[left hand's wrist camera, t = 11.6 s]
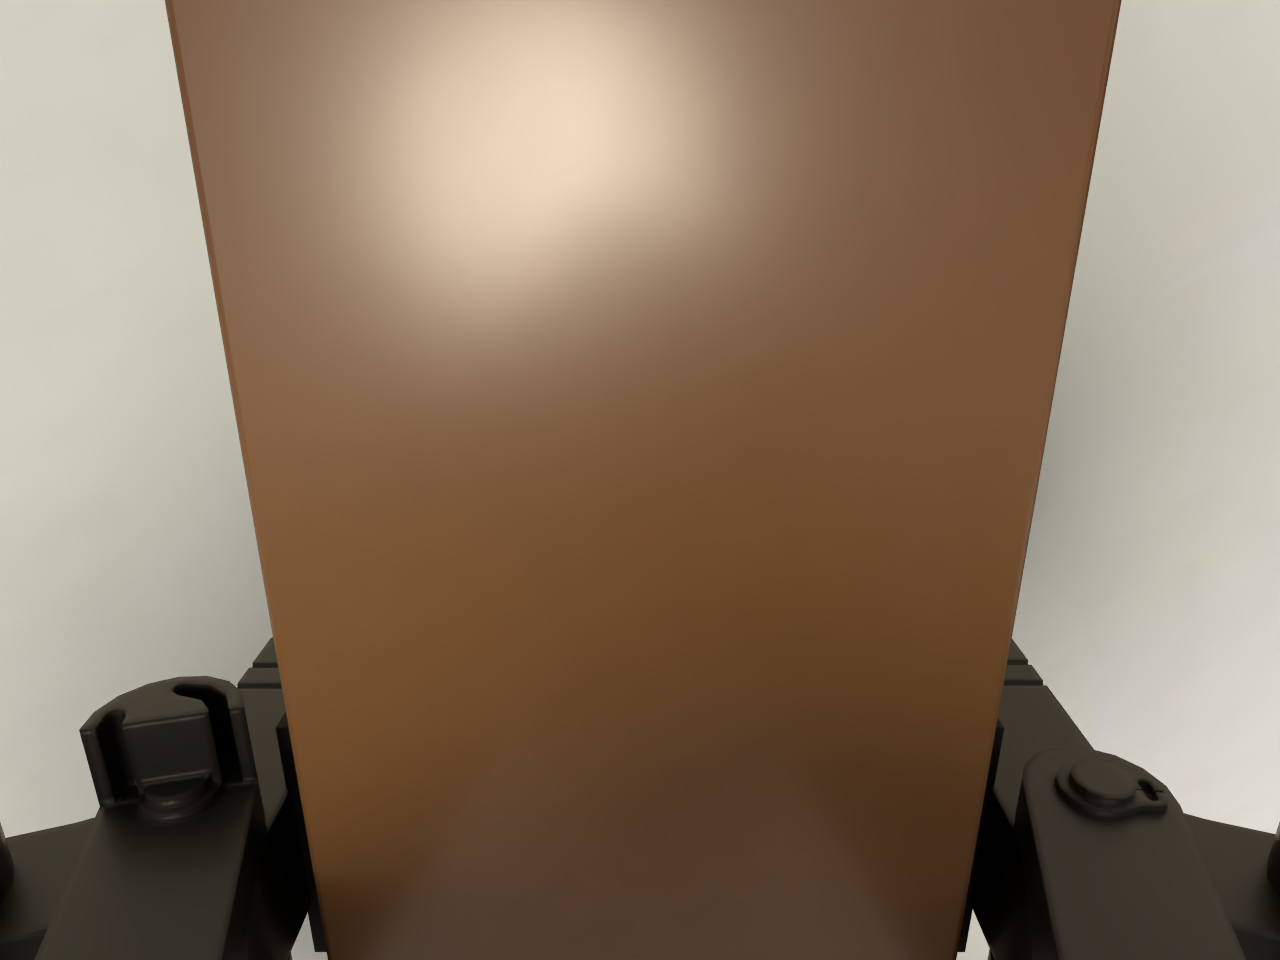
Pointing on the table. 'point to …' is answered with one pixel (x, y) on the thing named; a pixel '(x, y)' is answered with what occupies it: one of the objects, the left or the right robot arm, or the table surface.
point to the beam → (642, 446)
